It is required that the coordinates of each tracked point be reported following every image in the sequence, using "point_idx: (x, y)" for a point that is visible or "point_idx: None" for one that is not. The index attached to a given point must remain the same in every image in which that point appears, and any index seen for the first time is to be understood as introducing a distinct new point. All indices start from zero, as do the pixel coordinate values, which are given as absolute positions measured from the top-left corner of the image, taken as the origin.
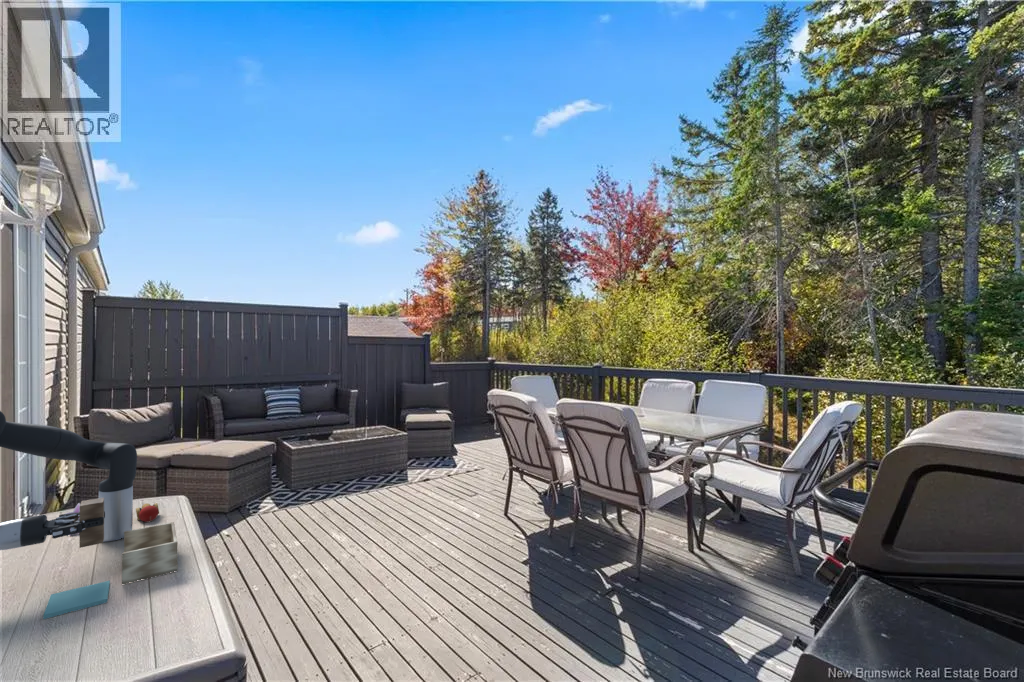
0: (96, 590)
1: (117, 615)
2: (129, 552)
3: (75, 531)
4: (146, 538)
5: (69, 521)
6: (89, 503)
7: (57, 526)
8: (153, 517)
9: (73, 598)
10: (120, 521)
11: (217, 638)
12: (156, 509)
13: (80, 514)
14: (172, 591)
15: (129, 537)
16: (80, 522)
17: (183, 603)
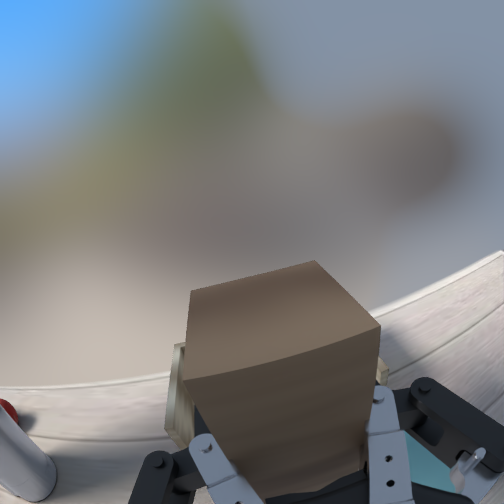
0: (415, 445)
1: (487, 358)
2: (380, 358)
3: (432, 420)
4: (188, 406)
5: (405, 451)
6: (319, 301)
7: (453, 493)
8: (16, 415)
9: (448, 467)
10: (25, 446)
11: (494, 261)
12: (6, 401)
13: (373, 384)
14: (416, 332)
15: (182, 429)
16: (393, 404)
17: (448, 306)
